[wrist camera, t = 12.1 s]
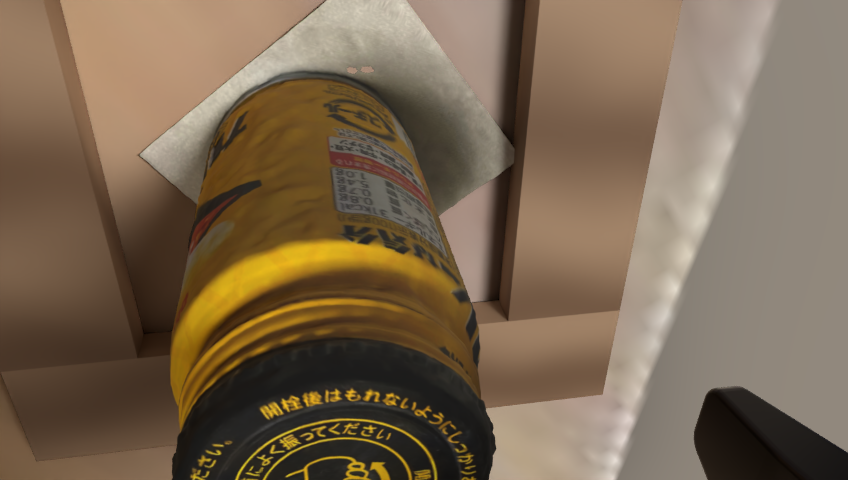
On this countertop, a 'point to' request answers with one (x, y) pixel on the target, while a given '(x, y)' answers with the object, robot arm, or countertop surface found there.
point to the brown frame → (497, 320)
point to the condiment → (331, 259)
